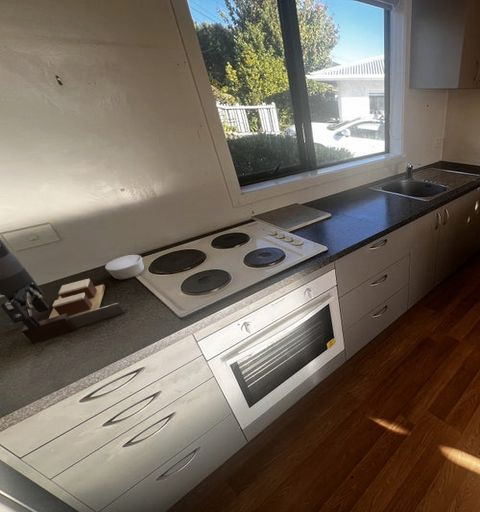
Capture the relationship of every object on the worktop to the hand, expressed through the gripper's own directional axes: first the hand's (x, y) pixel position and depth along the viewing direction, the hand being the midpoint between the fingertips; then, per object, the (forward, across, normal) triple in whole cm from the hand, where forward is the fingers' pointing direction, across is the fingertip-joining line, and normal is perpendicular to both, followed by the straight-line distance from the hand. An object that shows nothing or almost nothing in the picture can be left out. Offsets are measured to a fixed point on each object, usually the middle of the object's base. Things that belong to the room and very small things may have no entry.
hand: (40, 319), depth 83 cm
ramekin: (+6, -28, +17) cm, 33 cm away
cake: (+5, -16, +5) cm, 18 cm away
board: (+6, -13, +4) cm, 15 cm away
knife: (+6, 0, +7) cm, 9 cm away
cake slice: (+5, -8, +5) cm, 10 cm away
